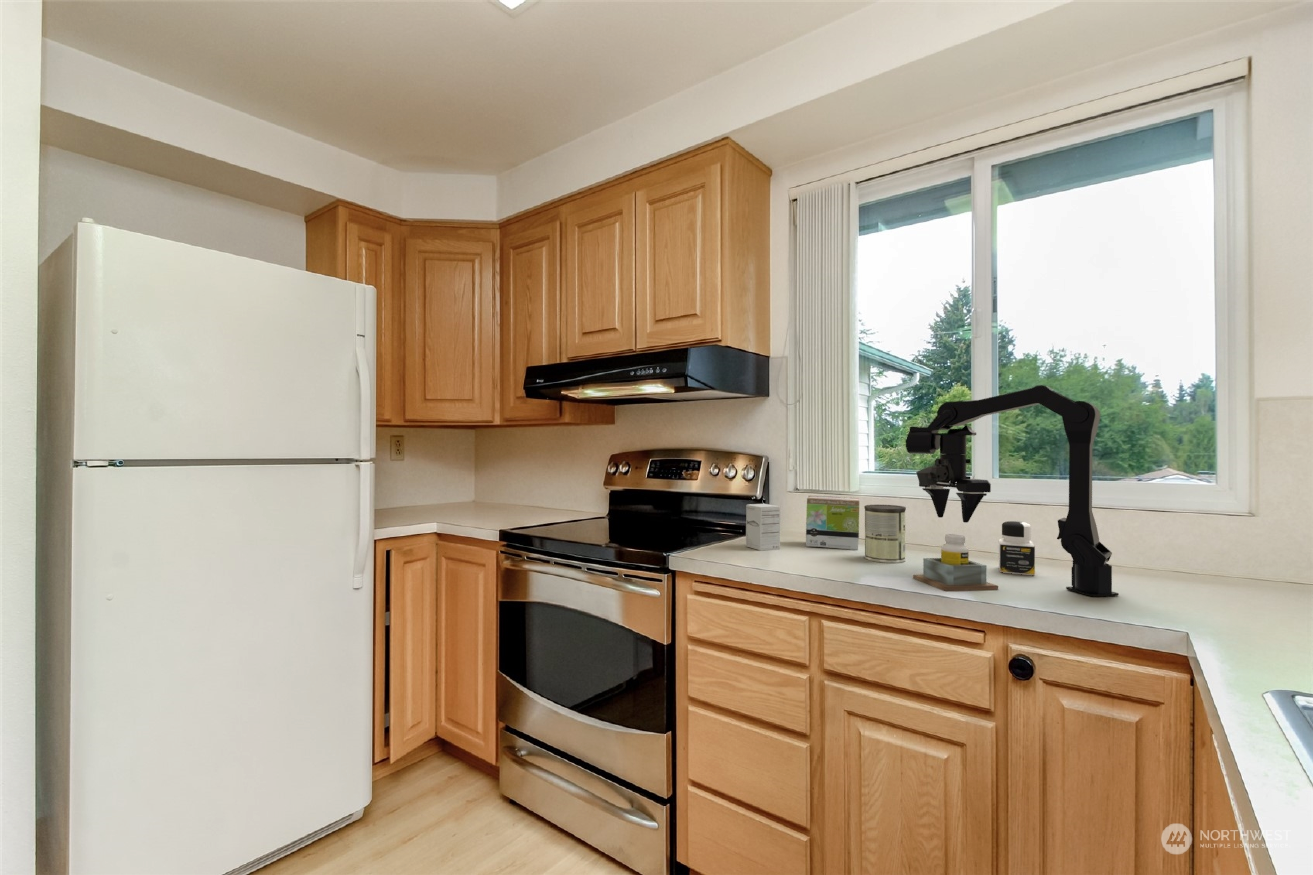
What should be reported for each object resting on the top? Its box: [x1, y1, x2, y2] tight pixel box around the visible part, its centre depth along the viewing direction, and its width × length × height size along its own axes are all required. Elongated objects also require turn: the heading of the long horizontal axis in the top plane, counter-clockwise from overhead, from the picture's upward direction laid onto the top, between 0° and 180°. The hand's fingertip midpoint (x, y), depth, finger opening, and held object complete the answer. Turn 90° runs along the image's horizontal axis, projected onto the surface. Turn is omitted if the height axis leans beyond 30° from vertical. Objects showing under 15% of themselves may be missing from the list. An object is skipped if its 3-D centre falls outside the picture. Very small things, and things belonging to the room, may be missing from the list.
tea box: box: [805, 495, 860, 551], centre depth 178 cm, size 15×10×15 cm, turn 73°
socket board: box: [912, 557, 999, 592], centre depth 131 cm, size 12×12×5 cm
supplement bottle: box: [940, 533, 970, 565], centre depth 131 cm, size 5×5×10 cm
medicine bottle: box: [998, 520, 1036, 576], centre depth 144 cm, size 7×7×12 cm
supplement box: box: [745, 503, 781, 551], centre depth 174 cm, size 7×7×13 cm
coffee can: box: [863, 504, 907, 564], centre depth 158 cm, size 10×10×14 cm
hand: (952, 519), depth 142 cm, fingers open, 9 cm apart
